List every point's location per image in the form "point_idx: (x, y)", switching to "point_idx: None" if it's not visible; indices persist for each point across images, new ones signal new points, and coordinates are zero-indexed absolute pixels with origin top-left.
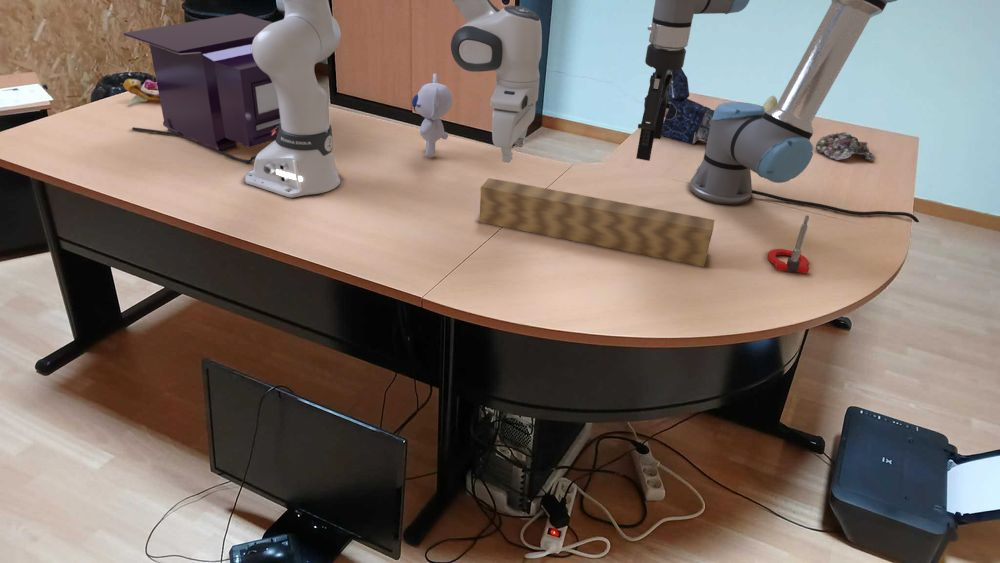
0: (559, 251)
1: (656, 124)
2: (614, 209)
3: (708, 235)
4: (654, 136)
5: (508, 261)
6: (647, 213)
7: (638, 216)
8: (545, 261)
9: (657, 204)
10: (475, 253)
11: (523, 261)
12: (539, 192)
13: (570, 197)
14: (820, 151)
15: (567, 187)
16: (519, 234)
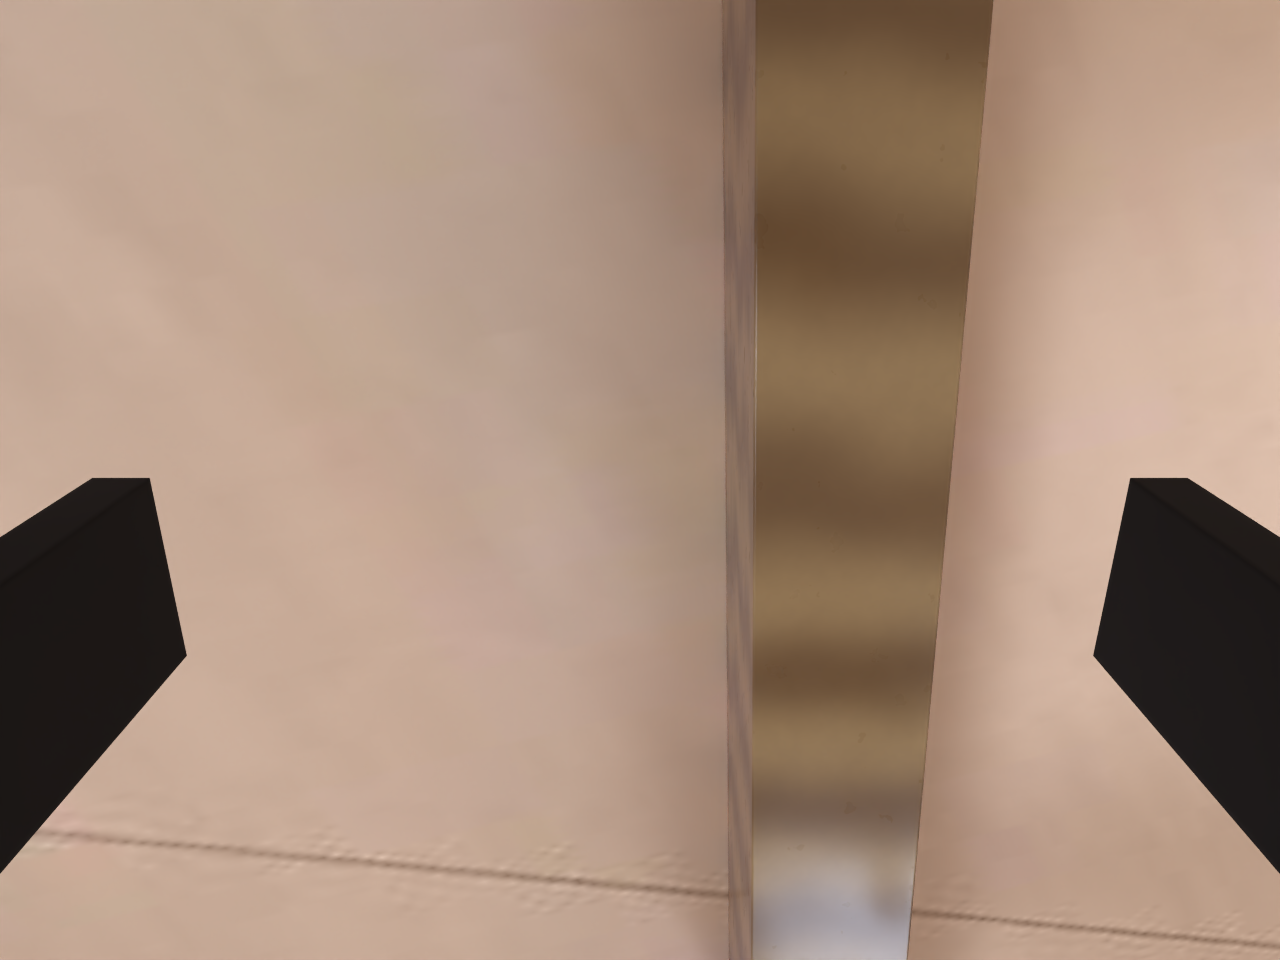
0: (1005, 626)
1: (26, 706)
2: (903, 501)
3: None
4: (150, 580)
5: (1177, 797)
6: (879, 246)
7: (964, 307)
8: None
9: (87, 226)
10: (1140, 924)
11: (1159, 743)
12: (828, 956)
13: (826, 796)
14: None
15: (220, 773)
16: None
